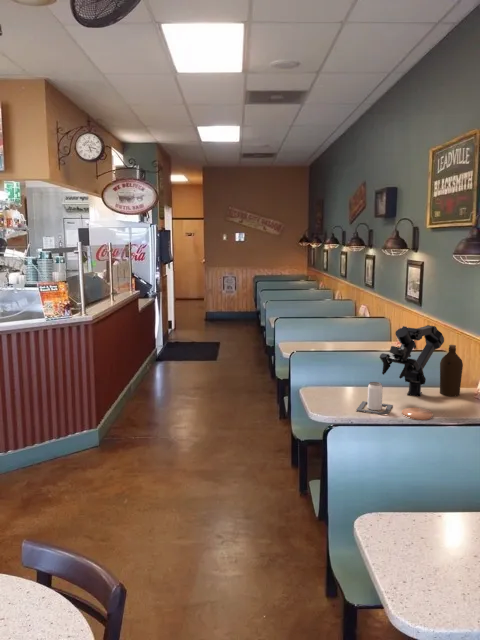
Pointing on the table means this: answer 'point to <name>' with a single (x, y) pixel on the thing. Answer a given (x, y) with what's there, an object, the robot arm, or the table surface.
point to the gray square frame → (374, 411)
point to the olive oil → (450, 373)
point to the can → (374, 396)
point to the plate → (417, 413)
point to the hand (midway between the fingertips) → (391, 376)
